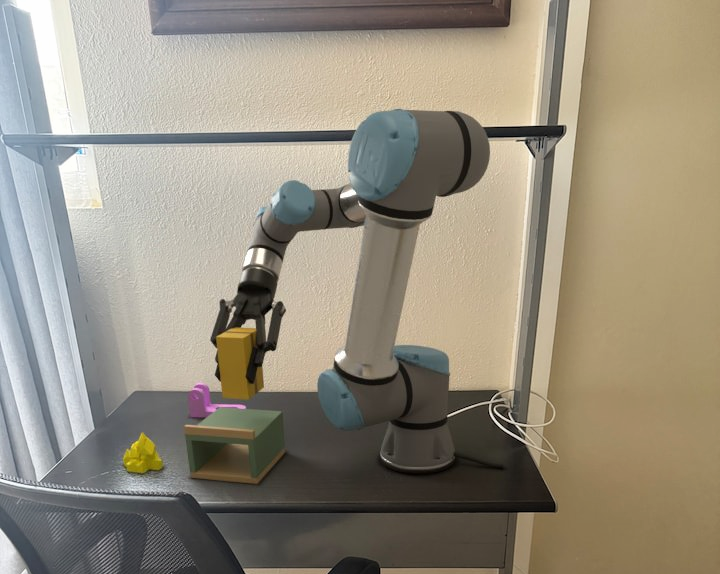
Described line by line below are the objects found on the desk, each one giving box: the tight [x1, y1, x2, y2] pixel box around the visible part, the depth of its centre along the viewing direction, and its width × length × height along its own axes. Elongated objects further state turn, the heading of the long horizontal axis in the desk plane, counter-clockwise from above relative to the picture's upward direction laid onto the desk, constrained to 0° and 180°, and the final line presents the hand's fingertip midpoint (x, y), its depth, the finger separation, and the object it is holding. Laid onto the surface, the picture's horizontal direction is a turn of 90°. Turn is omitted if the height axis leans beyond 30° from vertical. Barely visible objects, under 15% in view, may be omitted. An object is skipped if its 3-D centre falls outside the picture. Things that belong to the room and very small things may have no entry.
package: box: [216, 327, 265, 400], centre depth 137 cm, size 6×8×12 cm
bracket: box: [187, 382, 247, 418], centre depth 170 cm, size 13×6×7 cm, turn 86°
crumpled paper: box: [122, 431, 164, 474], centre depth 141 cm, size 6×8×8 cm
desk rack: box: [183, 407, 286, 485], centre depth 141 cm, size 14×16×11 cm
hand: (234, 379), depth 134 cm, fingers closed on package, 6 cm apart
